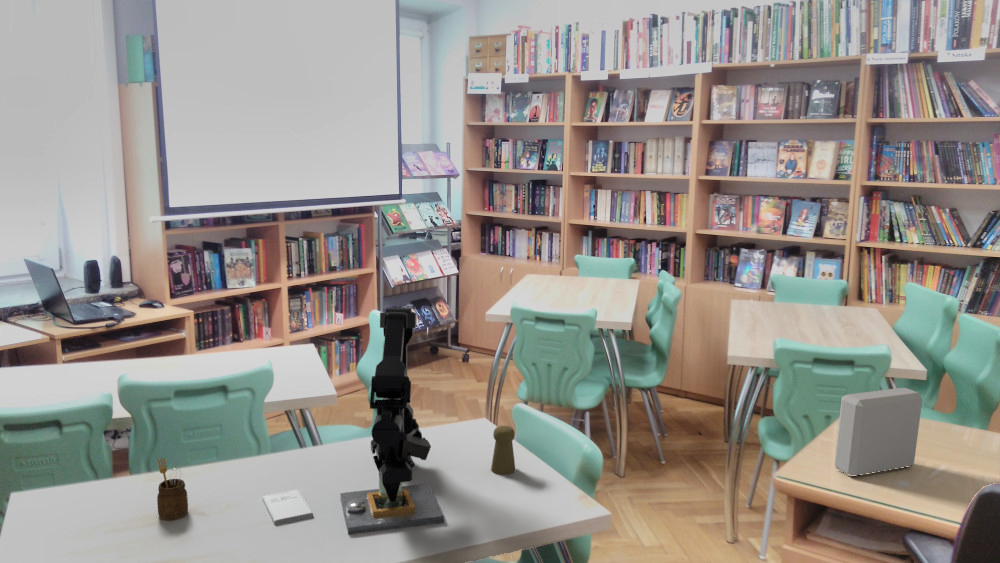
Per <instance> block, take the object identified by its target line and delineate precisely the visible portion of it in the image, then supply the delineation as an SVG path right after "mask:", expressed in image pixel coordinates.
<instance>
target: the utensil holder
mask: <svg viewBox="0 0 1000 563" xmlns="http://www.w3.org/2000/svg"><path fill="white" fill-rule="evenodd" d="M157 463H158V469H159V473H160V474H162V475H163V479H164V480H163V481H162V482H160V483H159V484H158V493H157V498H156V502H157V504H156V505H157V512H158V517H159V518H160V519H161V520H165V521H175V520H178V519H181V518H183V517H184V516H186V515H187V513H188V512H189V511H188V510H189V501H188V500H189V499H188V498H189V497H188V491H187V489H186V483H185V481H184V480H183V479H182V470H180V468H179V467H178V468H177V467H176V468H174V469H172V470H170V475H173V472H174V471H175V472H174V473H175V476H177V475H178V474H177V472H178V471H177V470H179V471H180V472H179V474H180V478H171V476H169V479H167V476H166V473H167V471H168V468H167V464H166V460H165V457H164V456H162V457H160V458H157Z"/></svg>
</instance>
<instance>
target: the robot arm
mask: <svg viewBox="0 0 1000 563" xmlns="http://www.w3.org/2000/svg"><path fill="white" fill-rule="evenodd" d="M412 309H413V308H412V307H408V308H407V307H404V308H403V307H402V308H401V307H386V309H385V312H379V328H380V329H381V328H382V329H383V337H384V343H383V344H384V345H383V352H382V360H380V362H378V364H376V366H375V371H374V372H375V373H374V375H372V376H371V381H370V382H371V384H370V396H369V397H370V398H369V409H370V410H373V409H374V410H375V409H376V416H375V418H374V422H373V425H372V429H371V437H372V440H371V441H370V451H371V454H372V455H374V456H373V457H372V458H373V462H374V463H375V466H376V469H377V471H378V477H379V476H380V479H381V481H382V483H383V486H384V488H385V490H386V493H387V495H388V497H389V500H390V502H393V501H395V500H396V497H397V493H398V490H399V486H400V483H401V482H402V483H405V482H406V483H407V482H411V481H413V470H412V468H413V467H415V461H414V460H413V458H419V459H420V460H422V461H427V458H428V455H429V453H430V451H431V447H432V445H431V444H430V441H429V440H428V439H426V437H424V436H422V435H423V434H422V433H423V432H421V430H420V427H419V424H418V422H417V419H416V418H414V409H413V408H412V405H410V403H411V396H412V395H411V392H412V380H410V377H409V375H408V344H409V342H410V341H411V339H412V338H413V335H414V331H415V329H416V328H417V317H418V316H417V312H414V311H413V310H412ZM375 397H376V398H377V399H375ZM375 454H376V455H375ZM412 457H413V458H412Z"/></svg>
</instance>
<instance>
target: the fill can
mask: <svg viewBox="0 0 1000 563" xmlns="http://www.w3.org/2000/svg"><path fill="white" fill-rule="evenodd" d="M402 486H403V482H401V483H400V486H399V490H398V493H397V497H396V500H395V501H393V502H390V500H389V497H388V495H387V493H386V490H385V488H384V486H383V483H382V481H381V479H380V476H379V475H378V489H379V504H378V505H379V506H381V507H383V508H392V507H400V506H401V505H402V504H403V502H402Z"/></svg>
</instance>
